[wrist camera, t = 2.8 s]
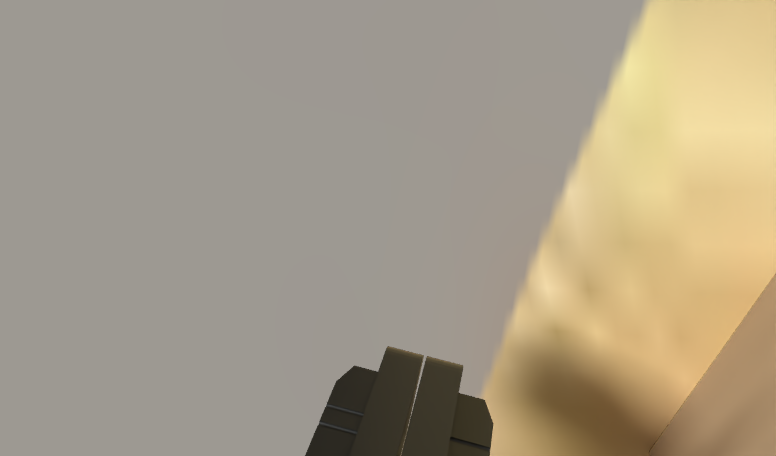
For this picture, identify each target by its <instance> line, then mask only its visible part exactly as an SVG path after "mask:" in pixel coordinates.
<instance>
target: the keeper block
mask: <svg viewBox="0 0 776 456" xmlns="http://www.w3.org/2000/svg"><path fill="white" fill-rule="evenodd" d="M649 456H776V274H775V275H774V277H773V278H772V279H771V281H770V282H769V284H768V285H767V286H766V288H765V289H764V291H763V292H762V294H761V295H760V296H759V298H758V299H757V301H756V302H755V303H754V305H753V306H752V308H751V309H750V310H749V312H748V313H747V315H746V316H745V317H744V319H743V320H742V322H741V323H740V324H739V326H738V327H737V329H736V330H735V332H734V333H733V334H732V336H731V337H730V339H729V340H728V341H727V343H726V344H725V346H724V347H723V348H722V350H721V351H720V353H719V354H718V355H717V357H716V358H715V360H714V361H713V362H712V364H711V365H710V367H709V368H708V370H707V371H706V372H705V374H704V375H703V377H702V378H701V379H700V381H699V382H698V384H697V385H696V386H695V388H694V389H693V391H692V392H691V393H690V395H689V396H688V398H687V399H686V401H685V402H684V403H683V405H682V406H681V408H680V409H679V410H678V412H677V413H676V415H675V416H674V417H673V419H672V420H671V422H670V423H669V424H668V426H667V427H666V429H665V430H664V431H663V433H662V434H661V436H660V437H659V439H658V440H657V441H656V443H655V444H654V446H653V447H652V448H651V450H650V451H649Z"/></svg>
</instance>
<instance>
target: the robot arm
mask: <svg viewBox="0 0 776 456" xmlns="http://www.w3.org/2000/svg"><path fill="white" fill-rule="evenodd" d="M423 357H424V356H423V355H420V354H416V353H412V352H409V351H405V350H401V349H397V348H393V347H389V346H388V347H387V349H386V351H385V354H384V357H383V360H382V363H381V365H380V368H379V371H378V372H376V371H372V370H369V369H365V368H361V367H357V366H353V367H352V368H351V369H350V370H349V371H348V372H347V373H345V374H344V375H343V376H342V377H341V378H340V379H339V380H337V381H336V383H335V386H334V388H333V390H332V393H331V395H330V397H329V400H328V402H327V406H326V407H325V410H324V412H323V414H322V417H321V419H320V422H319V425H318V426H317V429H316V431H315V433H314V436H313V438H312V441H311V443H310V445H309V448H308V450H307V452H306V455H305V456H490V447H491V439H492V430H493V422H492V419H491V416H490V413H489V411H488V408H487V405H486V402H485V400H483V399H479V398H475V397H472V396H468V395H464V394H460V393H459V387H460V382H461V377H462V371H463V365H459V364H455V363H451V362H448V361H444V360H440V359H436V358H432V357H428V356H427V358H426V361H425V365H424V369H423V373H422V377H421V380H420V384H419V388H418V392H417V396H416V400H415V404H414V407H413V403H414V398H415V394H416V389H417V384H418V380H419V375H420V371H421V366H422V362H423ZM412 407H413V411H412ZM411 412H412V415H411ZM410 416H411V419H410ZM409 420H410V423H409ZM408 424H409V426H408ZM407 428H408V430H407ZM406 433H407V434H406ZM405 437H406V438H405ZM404 441H405V442H404ZM403 444H404V446H403ZM402 448H403V450H402ZM401 452H402V453H401Z"/></svg>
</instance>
